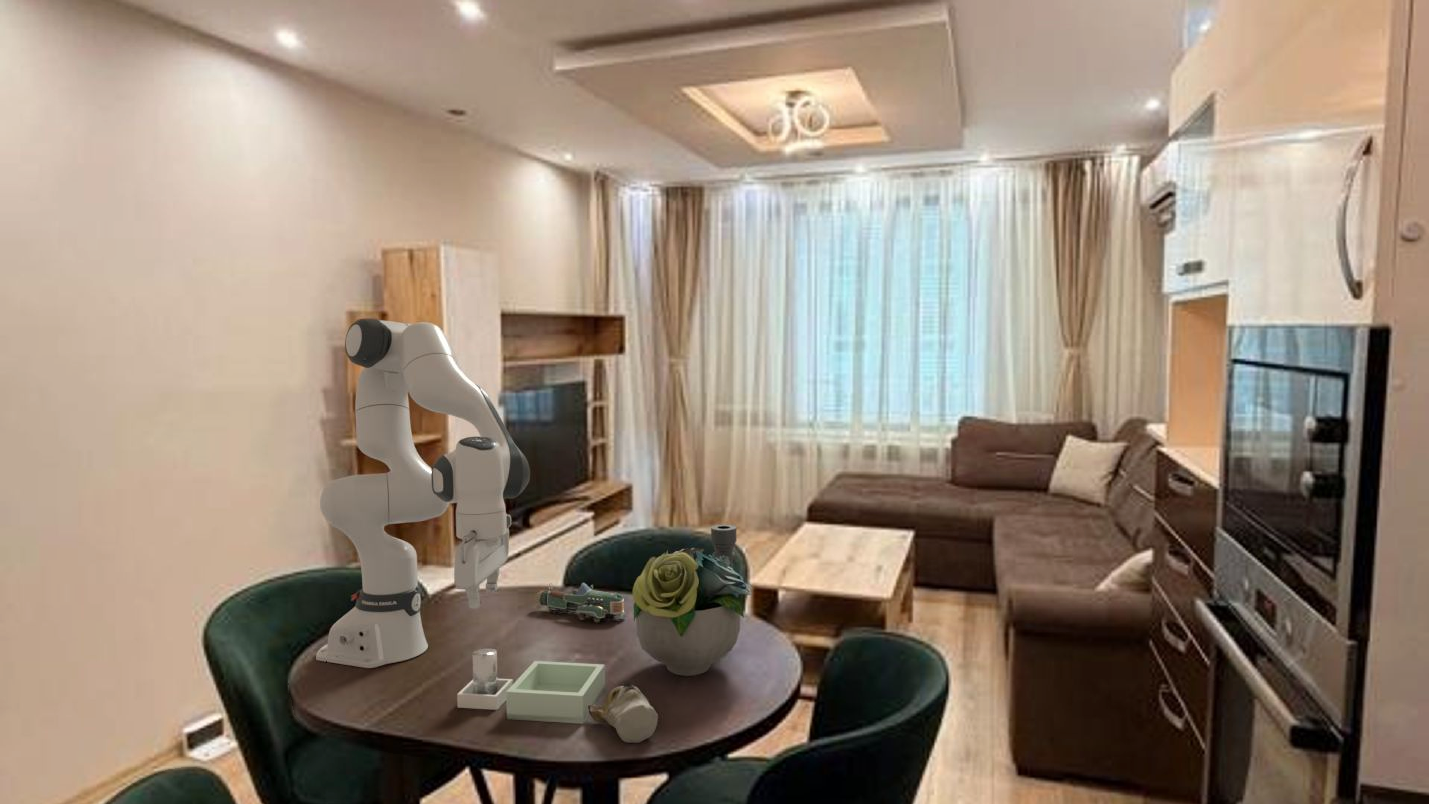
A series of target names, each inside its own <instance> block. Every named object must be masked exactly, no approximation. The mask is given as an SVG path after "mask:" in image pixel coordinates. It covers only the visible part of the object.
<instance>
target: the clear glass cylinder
mask: <svg viewBox="0 0 1429 804" xmlns="http://www.w3.org/2000/svg"><path fill="white" fill-rule="evenodd" d="M471 657H472V680H473V693H474V694H487V695H495V694H496V693H497V692H498V679H499V677H498V651H497V649H494V648H481V649H477V650H474V651H473V652H472V653H471Z"/></svg>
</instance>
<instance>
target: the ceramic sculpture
mask: <svg viewBox="0 0 1429 804" xmlns="http://www.w3.org/2000/svg"><path fill="white" fill-rule="evenodd" d="M588 709H589V713H590V714H589V716H590V717H591V718H592V720H594V721H595V722H598V723H600V724H606V725H610V726H611V727H613V728H615V729H616V732H617V735H618V736H619V738H620V739H621V740H622V741H623V742H624V743H627V744H630V743H631V744H640V743H641V742H644V741H645V740H647V739H649V738H651V737H652V736H653V734H654V733H655V730H656V728H657V725H658V721H659V720H658V719H659V715H658V713H657V712H656V710H655V709H654V707H653V706H651V701H650V699H648V698H647V697H646V696H645V695H644V694H643V693H642V692H641V690H640V689H639V688H638V687H637V686H635V685H634V684H632V683H631V682H625V683H624V684H623V685H621V686H620V685H619V686H616V687H614V688H612V690H610V692H609V693H608V696H607V697H606V700H605V703H604V704H599V705H595V706H590V705H588Z"/></svg>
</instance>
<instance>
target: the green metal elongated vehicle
mask: <svg viewBox="0 0 1429 804" xmlns="http://www.w3.org/2000/svg"><path fill="white" fill-rule="evenodd" d="M550 585H551V587H550ZM551 589H552V590H551ZM571 592H572V594H571V593H568V592H564V591H557V590H554V585H553V583H552V582H550V583H549V584H548V590H541V591H538V592H537V593H536V595H535V601H536V602H537V604H539V605H541V606H546V607H547V609H548V610H549V612H551V613H552V614H557V613H556V612H558V615H563V614H565V612H568V613H570V614H576V612H578V613H579V614H578V619H580V620H581V621H584V620H585V619H586V618H587V615H588V617H593V621H594V622H595V623H600V622H601V619H604V620H605V621H609V622H611V619H607V618H606V616H607V615H608V617H609V618H610V617H611V618H612V619H615V620H613V622H616V623H619V622H622V621H623V620H624V618H625V617H627V612H626V611H625V609H624V600H625V598H624V597H623V595H621V594H619V593H617V592H613V593H612V592H607V591H600V590H595V589H594V584H590V586H588V584H586V583H585V582H582V583H581V584H580V586H579V587H578V589H572V591H571ZM606 614H607V615H606ZM612 615H613V616H612ZM617 620H618V621H617ZM619 620H620V621H619Z"/></svg>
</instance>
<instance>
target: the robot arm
mask: <svg viewBox="0 0 1429 804" xmlns="http://www.w3.org/2000/svg"><path fill="white" fill-rule="evenodd" d="M344 342H345V343H344V350H345V354H346V356H347V357H348V360H349V361H350V362H351V363H353V364H355V365H356V366H359V367H362V370H361V371H360V373H359V374H358V378H357V383H356V389H355V404H354V406H355V407H354V408H355V432H356V444H357V448H358V449H359V451H361V453H363V454H364V455H366V456H367V457H369V458H371V459H373V460H374V459H375V460H377V461H380V462H382V463H383V464H385V465H386V466H387V468H388V469H389V471H388V472H384V473H383V472H382V473H381V472H380V473H367V474H366V473H365V474H353V475H349V476H344V477H340V478H337V479H336V478H335V479H333V480H330V481H329V482H328V483H327V484H326V485H325V487H324V488H323V490H322V493H321V495H320V500H319V507H320V512H321V515H322V516H323V517H324V519H325V520H326V521H327V522H328V523H329V524H330V525H331V526H333V527H334V528H336V529H338V530H340V532H342V533H344V535H345V536H346V537H348V539H349V540H350V541H351V543H352V544H353V546H355V549H356V551H357V554H358V557H359V562H360V569H361V578H362V579H361V582H362V588H361V589H358V590H357V591H356V593H354V594H353V595H352V594H351V596H350V598H351V601H352V602H353V601H354V600H356V603H355V605H354V607H353V608H352V609H350V610H349V611H347V613H345V614H344V615H343V616H342V617H341V618H339V619H338V620H337V621H336V622H335V623H333V625H332V626H331V627H330V629H329V633H328V637H327V644H325V645H323V646H322V647H321V648H320V649H318V650H317V652H316V655H315V660H316V661H320V662H326V661H327V663H334V664H339V665H344V666H345V665H346V666H353V667H357V668H358V667H359V668H364V669H374V668H378V667H380V666H381V667H382V666H384V665H388V664H393V663H398V662H403V661H407V660H410V659H413V658H415V657H417V656H420V655H422V654H423V653H424V652H426V650H427V649H428V647H429V643H428V642H427V639H426V636H425V633H424V628H423V625H422V624H423V623H422V619H421V604H422V603H421V601H422V600H421V585H420V583H419V581H418V580H419V579H418V555H417V551H416V549H415V547H414V546H413V545H412V544H411V543H409V542H407V541H405V540H403V539H400V538H397V537H394V536H393V535H391V534H388V533H387V532H386V531H385V527H386V526H388V525H395V524H404V523H405V524H406V523H417V522H418V523H419V522H422V521H427V520H432V519H435V518H438V517H441V516H442V515H443V514H444V513H445V512H446V511H447V509H448V507H449V506H450V503H451V504H452V503H454V504H455V503H456V508H455V527H456V528H455V529H456V531H455V532H456V537H457V538H458V539H460V540H462V542H461V543H460V544H458V546H457V547H456V549H455V553H454V567H453V569H454V575H453V576H454V578H453V580H454V581H453V582H454V586H455V588H456V590H465V591H464V592H465V594H466V596H467V599H468V608H469V610H476V609H478V608H480V607H481V605H482V596H480V585H481V584H482V583H484V581H486V583H485V592H486V593H487V594H495V592H497V591H498V581H499V577H500V568H501V567H502V566H503V565H504V564H505V563H507V560H508V558H509V548H510V529H509V528H510V527H511V525H512V516H511V515H510V514H507V512H506V509H507V508H506V504H505V503H506V502H505V501H504V499H515V498H517V497H518V496H519V495H521V493H522V492H523V491H524V490H525V489H526V488H527V486H528V484H529V483H530V480H531V468H530V464H529V461H528V459H527V458H526V456H525V454H524V453H523V452H522V451H521V449H520V448H519V447H518V446H517V445H516V443H515V442H514V440H513V438H512V437H511V434H510V433H509V431H508V429H507V428H506V425H505V424H504V421H503V419H502V418H501V417H500V414H499V412H498V411H497V409H496V407H495V406H494V404H493V402H492V401H491V399H490V397H489V396H488V394H487V392H486V390H485V389H484V388H482V387H481V386H479V385H477V384H476V383H474V382H473V381H472V380H471V379H469V378H468V376H467V375H466V374H465V373H464V372H463V371H462V368H461V367H460V366H459V362H458V360H457V357H456V354H455V352H454V350H453V347H452V345H451V343H450V341H449V340H448V338H447V336H446V334H445V332H444V331H443V329H441V328H440V327H439V325H437V324H434V323H432V322H427V321H421V322H420V321H419V322H415V323H408V322H404V321H403V322H398V321H392V320H391V321H390V320H382V319H381V320H380V319H379V320H378V319H377V318H372V317H371V318H367V317H366V318H360V319H357V320H355V321H354V322H353V323H352V324H351V325H350V327H349V328H348V329H347V333H346V335H345V341H344ZM409 395H410V397H411V399H412V400H413V401H414V403H416V404H417V405H419V406H420V407H422V408H423V409H426V410H428V411H431V412H433V413H439V414H444V415H448V416H452V417H456V418H458V419H462V420H465V421H467V422H468V423H470V424H471V425H472V426H473V427H474V428H475V429H476V430H477V432H478V434H479V436H469V437H464V438H461V439H459V441H457V442H456V444H455V445H456V446H455V449H454V450H453V451H451V452H449V453H446V454H442V455H440V456H439V457H438V458H437V460H435V462H434V463H433V465H432V466H430V465H428V464H427V463H426V462H425V461H424V460H423V459H422V457H421V456H420V455H419V453H418V451H417V448H416V447H415V446H416V445H415V443H414V439H413V434H412V433H413V432H412V428H411V427H412V426H411V425H412V424H411V417H410V416H411V414H410V412H411V411H410V402H409V401H410V400H409Z"/></svg>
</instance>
